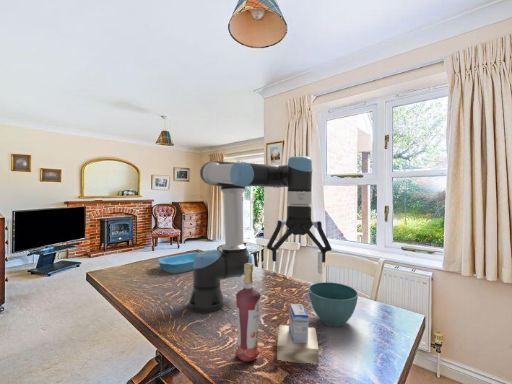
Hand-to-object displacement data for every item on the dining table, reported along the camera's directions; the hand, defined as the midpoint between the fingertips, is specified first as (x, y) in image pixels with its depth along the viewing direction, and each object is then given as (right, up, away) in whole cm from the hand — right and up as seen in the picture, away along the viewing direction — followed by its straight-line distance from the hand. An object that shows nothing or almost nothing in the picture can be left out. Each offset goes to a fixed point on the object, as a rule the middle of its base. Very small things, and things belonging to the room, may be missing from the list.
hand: (298, 272), depth 81 cm
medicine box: (0, -20, -1) cm, 20 cm away
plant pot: (+16, -25, +18) cm, 35 cm away
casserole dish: (-60, -25, +89) cm, 111 cm away
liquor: (-16, -25, -4) cm, 30 cm away
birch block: (0, -25, 0) cm, 25 cm away
